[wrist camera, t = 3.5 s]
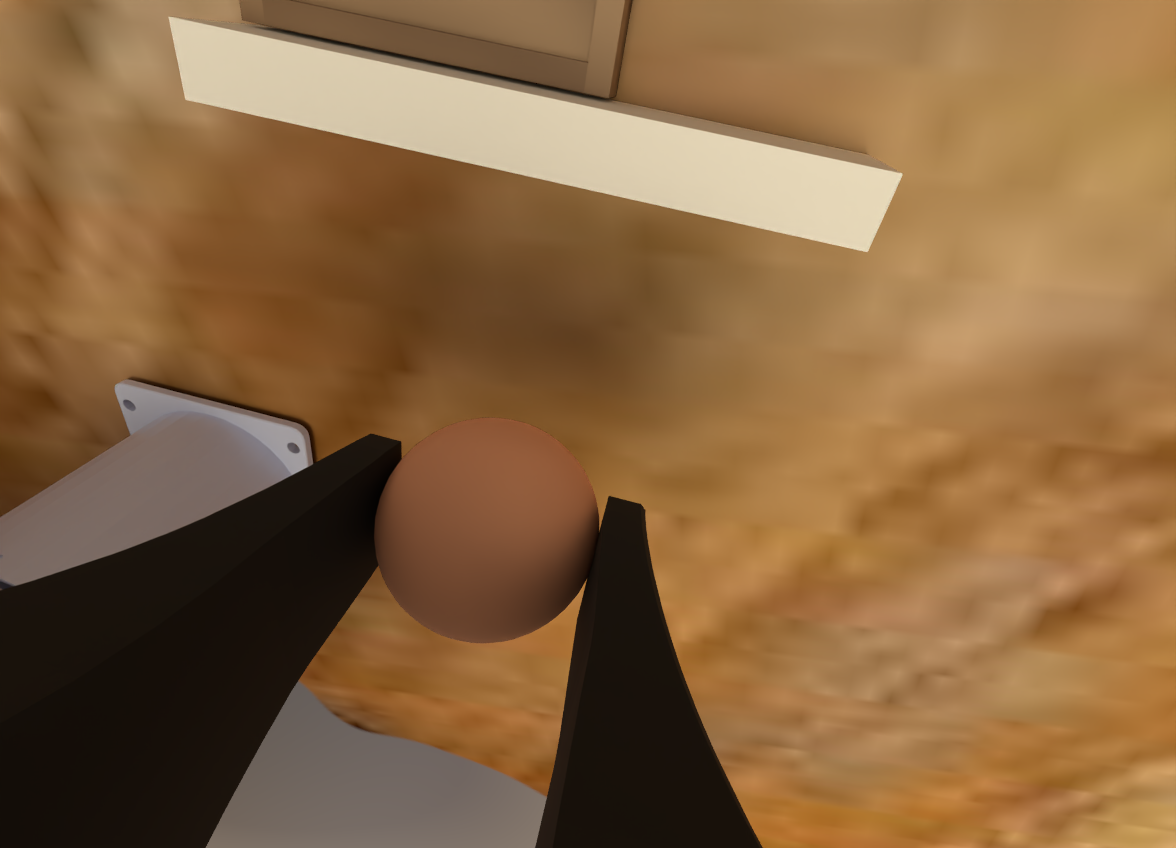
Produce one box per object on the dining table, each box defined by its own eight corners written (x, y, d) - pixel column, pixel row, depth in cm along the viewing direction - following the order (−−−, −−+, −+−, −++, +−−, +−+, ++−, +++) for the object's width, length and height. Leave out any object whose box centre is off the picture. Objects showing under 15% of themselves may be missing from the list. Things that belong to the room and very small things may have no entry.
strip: (841, 220, 15) (867, 252, 12) (269, 94, 16) (185, 99, 13) (868, 154, 14) (902, 173, 11) (260, 25, 15) (168, 16, 12)
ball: (595, 553, 13) (551, 719, 10) (432, 506, 13) (334, 652, 10) (634, 409, 11) (594, 562, 7) (436, 357, 11) (312, 481, 8)
